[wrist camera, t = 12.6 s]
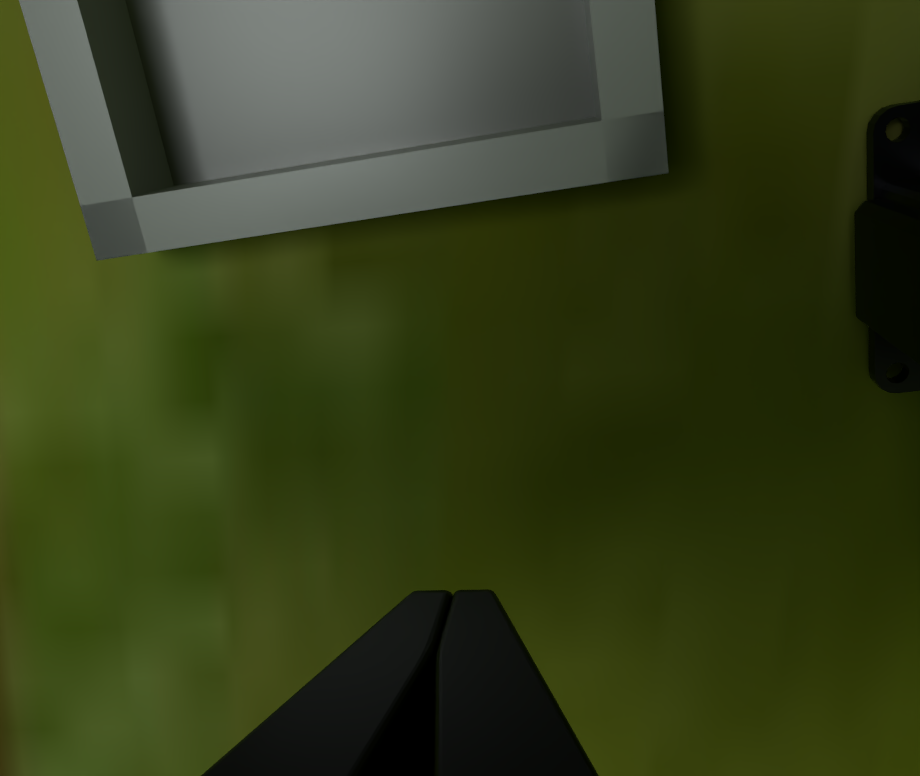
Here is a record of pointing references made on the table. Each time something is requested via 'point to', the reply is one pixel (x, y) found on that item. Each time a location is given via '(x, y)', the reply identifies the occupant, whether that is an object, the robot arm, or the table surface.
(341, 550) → the table surface
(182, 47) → the trap box
